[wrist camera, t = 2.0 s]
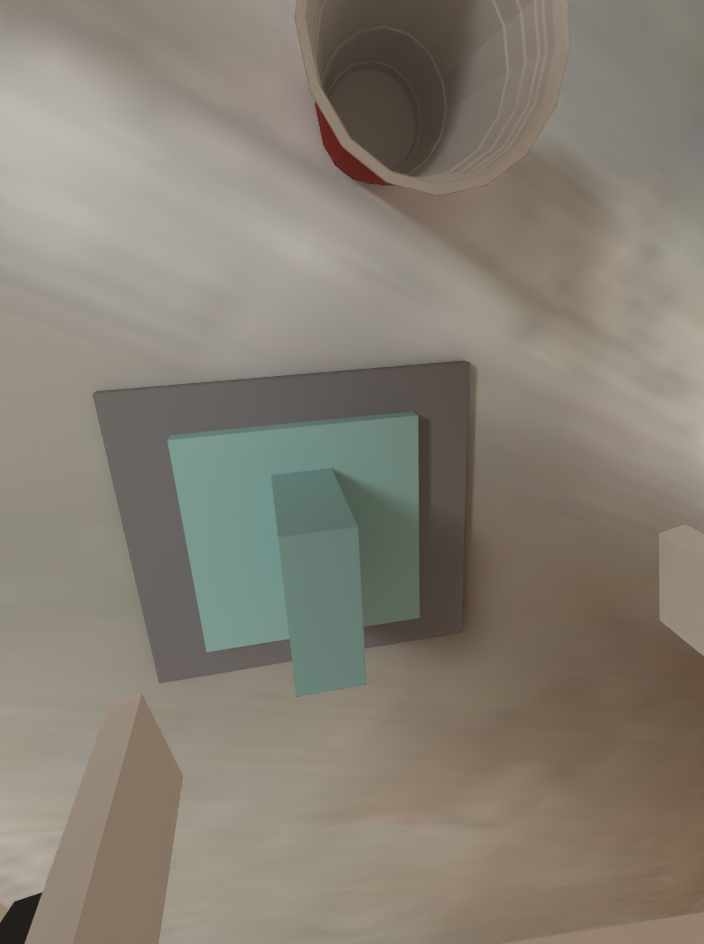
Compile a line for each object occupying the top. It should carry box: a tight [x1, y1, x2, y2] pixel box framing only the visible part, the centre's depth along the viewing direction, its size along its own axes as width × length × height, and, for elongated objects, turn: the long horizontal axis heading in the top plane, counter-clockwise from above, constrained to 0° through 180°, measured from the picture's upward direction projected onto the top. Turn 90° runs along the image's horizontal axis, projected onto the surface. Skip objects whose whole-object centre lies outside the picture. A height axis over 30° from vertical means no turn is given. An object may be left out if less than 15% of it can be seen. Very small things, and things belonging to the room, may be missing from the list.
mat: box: [93, 361, 469, 683], centre depth 37 cm, size 24×22×1 cm
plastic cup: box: [295, 0, 570, 196], centre depth 24 cm, size 11×11×12 cm
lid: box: [167, 411, 420, 697], centre depth 32 cm, size 16×16×10 cm
